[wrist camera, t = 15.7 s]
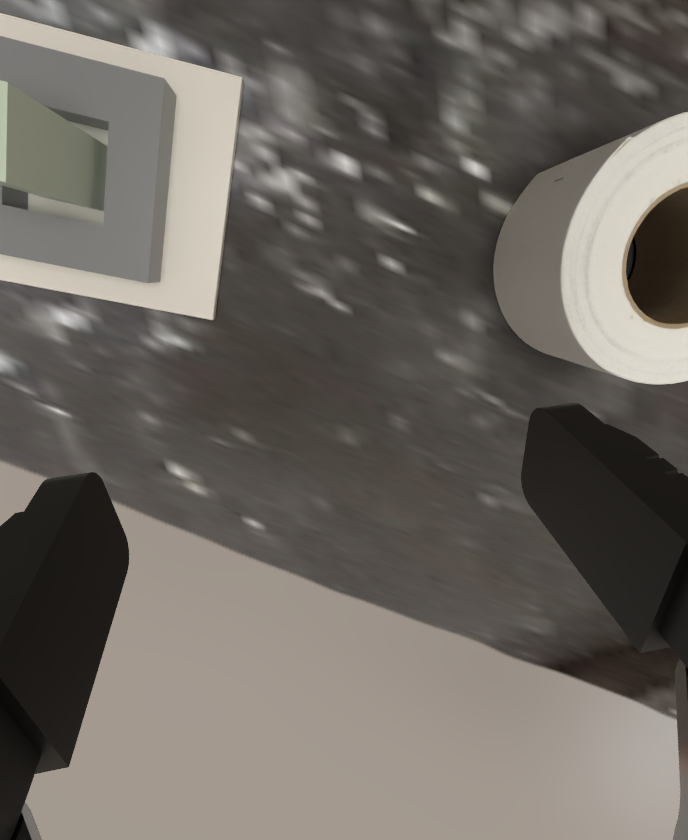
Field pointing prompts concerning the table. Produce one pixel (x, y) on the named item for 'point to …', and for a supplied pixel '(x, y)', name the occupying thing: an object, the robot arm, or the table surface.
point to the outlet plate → (186, 187)
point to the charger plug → (48, 153)
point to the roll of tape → (604, 257)
